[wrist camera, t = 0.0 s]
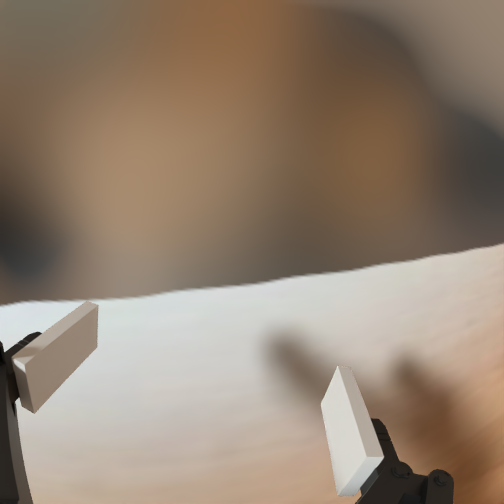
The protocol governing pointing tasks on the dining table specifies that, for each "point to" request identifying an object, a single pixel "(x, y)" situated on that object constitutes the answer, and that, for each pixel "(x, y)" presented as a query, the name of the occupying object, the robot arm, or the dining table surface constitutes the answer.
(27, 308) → the dining table surface
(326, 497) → the dining table surface
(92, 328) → the robot arm
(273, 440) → the dining table surface
